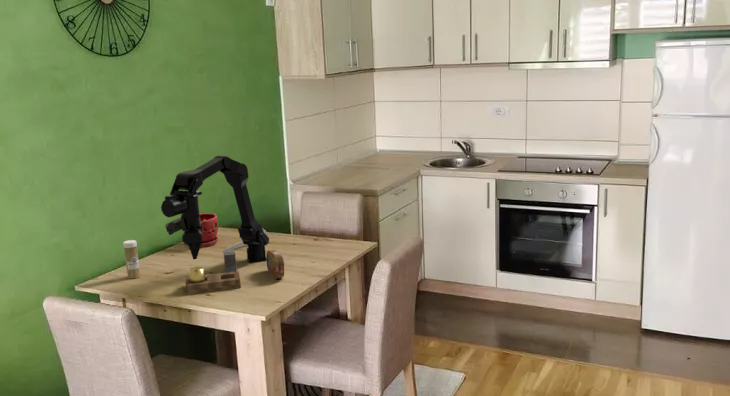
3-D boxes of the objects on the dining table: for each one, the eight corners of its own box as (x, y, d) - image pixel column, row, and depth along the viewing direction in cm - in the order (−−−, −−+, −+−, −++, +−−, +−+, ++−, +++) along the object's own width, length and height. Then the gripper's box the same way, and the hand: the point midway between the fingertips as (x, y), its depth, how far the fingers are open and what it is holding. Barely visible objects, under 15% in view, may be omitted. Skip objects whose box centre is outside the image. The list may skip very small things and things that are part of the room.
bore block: (239, 279, 240) (238, 271, 239) (240, 287, 231) (240, 279, 230) (186, 285, 236) (186, 277, 235) (186, 294, 227) (185, 285, 226)
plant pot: (190, 241, 292) (187, 214, 289) (221, 239, 292) (219, 212, 290) (185, 249, 279) (182, 221, 276) (217, 247, 280) (214, 219, 277)
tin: (266, 270, 249) (264, 247, 247) (274, 268, 250) (273, 246, 248) (277, 282, 235) (276, 258, 233) (286, 280, 236) (285, 257, 234)
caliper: (266, 241, 286) (265, 227, 285) (268, 242, 285) (266, 227, 284) (222, 252, 274) (221, 237, 272) (224, 253, 273) (222, 238, 271)
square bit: (236, 269, 251) (234, 251, 249) (236, 272, 247) (235, 254, 246) (225, 270, 250) (223, 252, 249) (225, 273, 246) (223, 255, 245)
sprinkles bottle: (133, 279, 245) (128, 243, 242) (124, 277, 247) (120, 242, 244) (143, 275, 248) (138, 240, 245) (135, 274, 251) (130, 239, 248)
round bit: (205, 285, 235) (203, 266, 234) (205, 289, 231) (203, 270, 229) (191, 287, 234) (189, 267, 233) (191, 291, 230) (189, 271, 228)
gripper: (166, 206, 233) (171, 250, 237) (163, 219, 216) (169, 266, 219) (199, 203, 236) (204, 246, 239) (199, 215, 218) (204, 262, 221)
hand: (195, 255), depth 230 cm, fingers open, 9 cm apart
